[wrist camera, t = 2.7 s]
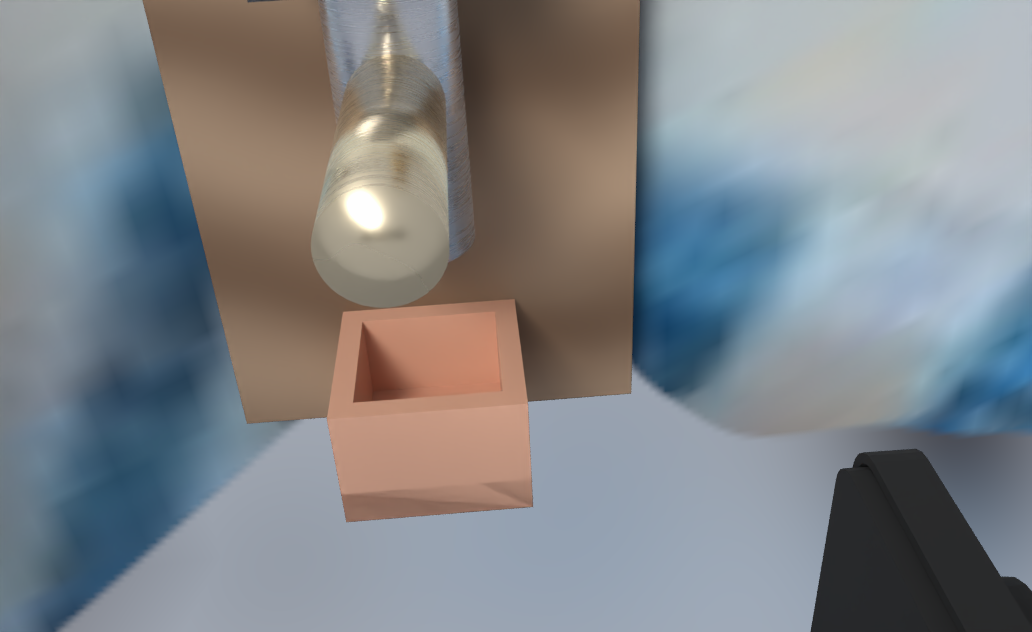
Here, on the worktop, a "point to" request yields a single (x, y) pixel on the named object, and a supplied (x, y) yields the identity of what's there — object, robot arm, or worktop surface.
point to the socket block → (430, 411)
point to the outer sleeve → (260, 0)
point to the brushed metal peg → (393, 151)
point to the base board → (493, 169)
